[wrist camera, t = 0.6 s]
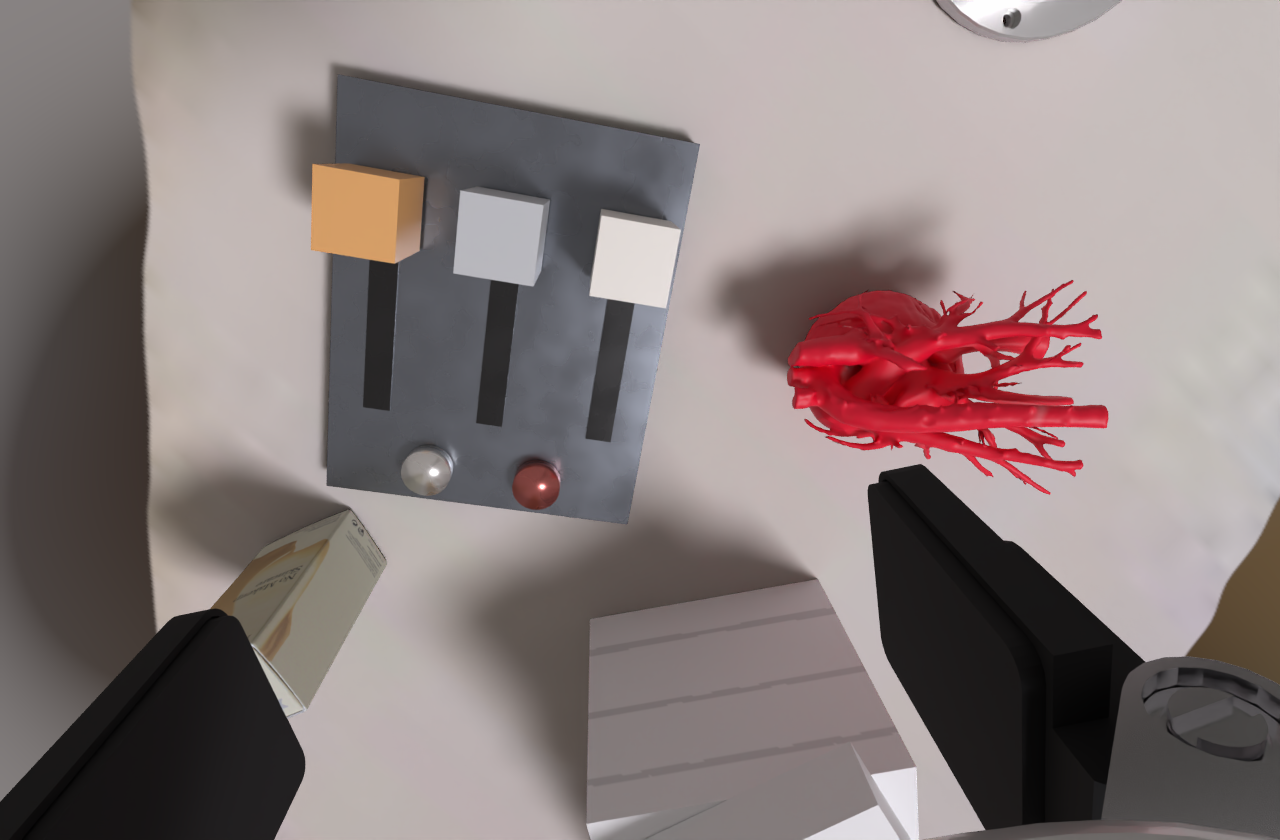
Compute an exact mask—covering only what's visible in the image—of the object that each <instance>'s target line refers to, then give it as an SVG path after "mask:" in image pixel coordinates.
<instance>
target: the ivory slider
mask: <svg viewBox="0 0 1280 840" xmlns="http://www.w3.org/2000/svg"><path fill="white" fill-rule="evenodd" d="M680 233H681V229H680V228H678V227H677V226H676V225H675V224H674V223H673V222H671V221H667V220H662V219H656V218H650V217H645V216H639V215H634V214H628V213H623V212H617V211H611V210H606V209H601V213H600V219H599V226H598V233H597V239H596V246H595V252H594V259H593V266H592V272H591V279H590V294H589V296H594V297H600V298H606V299H612V300H618V301H624V302H630V303H636V304H642V305H648V306H654V307H660V308H666V306H667V301H668V296H669V291H670V285H671V280H672V275H673V269H674V264H675V259H676V254H677V248H678V243H679V238H680Z"/></svg>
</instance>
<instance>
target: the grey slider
mask: <svg viewBox="0 0 1280 840" xmlns="http://www.w3.org/2000/svg"><path fill="white" fill-rule="evenodd" d="M549 205H550V199H544V198H539V197H533V196H528V195H522V194H517V193H511V192H505V191H500V190H494V189H489V188H483V187H478V186H477V187H473V188H469V189H464V190H460V200H459V212H458V223H457V235H456V247H455V259H454V270H453V273H454V274H460V275H466V276H472V277H478V278H484V279H491V280H497V281H503V282H509V283H515V284H521V285H527V286H534V284H535V282H536V280H537V278H538V276H539V274H540V273H541V268H542V260H543V252H544V244H545V237H546V229H547V221H548V213H549Z"/></svg>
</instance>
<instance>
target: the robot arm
mask: <svg viewBox="0 0 1280 840" xmlns="http://www.w3.org/2000/svg"><path fill="white" fill-rule="evenodd" d="M936 1H937V2H938V4H939V5H940V7H941V8H942V9H943V10H944V11H946V12H947V13H948V14H949V15H950V16H951V17H952V18H953V19H954V20H955V21H957V22H958V23H959V24H960V25H962V26H964V27H966V28H967V29H969V30H971V31H973V32H975V33H976V34H978V35H981V36H984V37H988V38H991V39H995V40H998V41H1002V42H1024V43H1026V42H1032V41H1038V40H1044V39H1049V38H1053V37H1056V36H1059V35H1062V34H1066V33H1069V32H1072V31H1074V30H1076V29H1078V28H1081V27H1083V26H1085V25H1087V24H1089V23H1091V22H1093V21H1095V20H1097V19H1098V18H1099V17H1101V16H1102V15H1103V14H1105V13H1106V12H1108V11H1109V10H1110V9H1112V8H1113V7H1114V6H1116V5H1117V4H1118V3H1120V2H1121V1H1122V0H936ZM1003 17H1005V19H1006V24H1005V26H1004V24H1003ZM868 503H869V513H870V524H871V535H872V546H873V556H874V567H875V578H876V589H877V599H878V610H879V621H880V631H881V639H882V644H883V648H884V651H885V654H886V656H887V659H888V661H889V663H890V665H891V666H892V668H893V670H894V672H895V673H896V675H897V677H898V679H899V680H900V682H901V684H902V686H903V687H904V689H905V691H906V693H907V694H908V696H909V698H910V699H911V701H912V703H913V705H914V706H915V708H916V710H917V712H918V713H919V715H920V717H921V719H922V720H923V722H924V724H925V726H926V727H927V729H928V731H929V732H930V734H931V736H932V738H933V739H934V741H935V743H936V745H937V746H938V748H939V750H940V752H941V753H942V755H943V757H944V759H945V760H946V762H947V764H948V766H949V767H950V769H951V771H952V772H953V774H954V776H955V778H956V779H957V781H958V783H959V785H960V786H961V788H962V790H963V792H964V793H965V795H966V797H967V799H968V800H969V802H970V804H971V805H972V807H973V809H974V811H975V812H976V814H977V816H978V818H979V819H980V821H981V823H982V825H983V826H984V828H985V830H984V831H976V832H968V833H960V834H954V835H948V836H942V837H936V838H930V839H924V840H1280V685H1278V684H1277V683H1275V682H1273V681H1271V680H1269V679H1267V678H1265V677H1263V676H1260V675H1258V674H1256V673H1254V672H1252V671H1250V670H1248V669H1244V668H1241V667H1238V666H1234V665H1231V664H1227V663H1224V662H1221V661H1217V660H1210V659H1203V658H1195V657H1165V658H1160V659H1157V660H1153V661H1149V662H1145V661H1144V660H1143V659H1142V658H1141V657H1139V656H1138V655H1137V654H1136V653H1135V652H1134V651H1133V650H1132V649H1131V648H1130V647H1129V646H1128V645H1126V644H1125V643H1124V642H1123V641H1122V640H1121V639H1120V638H1119V637H1118V636H1117V635H1116V634H1114V633H1113V632H1112V631H1111V630H1110V629H1109V628H1108V627H1107V626H1106V625H1105V624H1104V623H1103V622H1101V621H1100V620H1099V619H1098V618H1097V617H1096V616H1095V615H1094V614H1093V613H1092V612H1091V611H1090V610H1088V609H1087V608H1086V607H1085V606H1084V605H1083V604H1082V603H1081V602H1080V601H1079V600H1078V599H1077V598H1075V597H1074V596H1073V595H1072V594H1071V593H1070V592H1069V591H1068V590H1067V589H1066V588H1065V587H1064V586H1062V585H1061V584H1060V583H1059V582H1058V581H1057V580H1056V579H1055V578H1054V577H1053V576H1052V575H1050V574H1049V573H1048V572H1047V571H1046V570H1045V569H1044V568H1043V567H1042V566H1041V565H1040V564H1039V563H1037V562H1036V561H1035V560H1034V559H1033V558H1032V557H1031V556H1030V555H1029V554H1028V553H1027V552H1026V551H1024V550H1023V549H1022V548H1021V547H1020V546H1018V545H1017V544H1015V543H1014V542H1012V541H1003V540H1002V539H1001V538H1000V537H999V536H998V535H997V534H996V533H995V532H994V531H993V530H992V529H991V528H990V527H989V526H987V525H986V524H985V523H984V522H983V521H982V520H981V519H980V518H979V517H978V516H977V515H976V514H975V513H974V512H973V511H972V510H971V509H969V508H968V507H967V506H966V505H965V504H964V503H963V502H962V501H961V500H960V499H959V498H958V497H957V496H956V495H955V494H954V493H953V492H951V491H950V490H949V489H948V488H947V487H946V486H945V485H944V484H943V483H942V482H941V481H940V480H939V479H938V478H937V477H936V476H935V475H933V474H932V473H931V472H930V471H929V470H928V469H927V468H926V467H925V466H923V465H922V464H919V465H913V466H909V467H904V468H899V469H894V470H889V471H884V472H881V474H880V475H879V483H875V484H870V485H869V487H868ZM304 772H305V756H304V753H303V750H302V748H301V746H300V744H299V742H298V740H297V738H296V736H295V734H294V732H293V730H292V728H291V725H290V723H289V721H288V719H287V717H286V715H285V713H284V711H283V709H282V707H281V705H280V703H279V701H278V699H277V697H276V695H275V693H274V691H273V689H272V687H271V685H270V682H269V680H268V678H267V676H266V674H265V672H264V670H263V668H262V666H261V664H260V662H259V660H258V658H257V656H256V654H255V652H254V650H253V648H252V646H251V644H250V641H249V639H248V637H247V635H246V633H245V631H244V629H243V627H242V625H241V623H240V622H239V620H238V619H237V618H236V617H234V616H230V615H229V616H228V615H227V614H226V613H225V612H224V611H223V610H221V609H217V608H214V609H209V610H204V611H199V612H194V613H190V614H185V615H180V616H176V617H173V618H172V619H171V620H169V621H168V622H167V623H166V624H165V625H164V626H163V627H162V629H161V630H160V631H159V632H158V633H157V634H156V635H155V636H154V637H153V638H152V640H150V641H149V643H148V644H147V645H146V646H145V647H144V648H143V649H142V650H141V651H140V652H139V653H138V654H137V655H136V657H135V658H134V659H133V660H132V661H131V662H130V663H129V664H128V665H127V666H126V667H125V668H124V670H122V672H121V673H120V674H119V675H118V676H117V677H116V678H115V679H114V680H113V681H112V682H111V683H110V684H109V686H108V687H107V688H106V689H105V690H104V691H103V692H102V693H101V694H100V695H99V696H98V697H97V699H96V700H95V701H94V702H93V703H92V704H91V705H90V706H89V707H88V708H87V709H86V710H85V711H84V713H82V715H81V716H80V717H79V718H78V719H77V720H76V721H75V722H74V723H73V724H72V725H71V726H70V728H69V729H68V730H67V731H66V732H65V733H64V734H63V735H62V736H61V737H60V738H59V739H58V740H57V741H56V742H55V744H54V745H53V746H52V747H51V748H50V749H49V750H48V751H47V752H46V753H45V754H44V755H43V757H42V758H41V759H40V760H39V761H38V762H37V763H36V764H35V765H34V766H33V767H32V768H31V770H30V771H29V772H28V773H27V774H26V775H25V776H24V777H23V778H22V779H21V780H20V781H19V782H18V783H17V784H16V785H15V787H14V788H13V789H12V790H11V791H10V792H9V793H8V794H7V795H6V796H5V797H4V798H3V800H2V801H1V802H0V840H274V839H275V837H276V834H277V832H278V830H279V828H280V826H281V824H282V822H283V820H284V818H285V816H286V813H287V811H288V809H289V807H290V805H291V803H292V801H293V799H294V797H295V795H296V792H297V790H298V788H299V786H300V784H301V782H302V780H303V777H304Z"/></svg>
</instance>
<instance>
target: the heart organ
mask: <svg viewBox="0 0 1280 840" xmlns="http://www.w3.org/2000/svg"><path fill="white" fill-rule="evenodd" d="M1072 283H1073V280H1071V281H1069V282H1067V283H1066V284H1062V285H1061V286H1060V287H1058V288H1057V289H1055V290H1054V289H1052V292H1051V293H1049V294H1047V295H1045V296H1044V297H1042V298H1040V299H1039V300H1037V301H1035V302H1033V303H1032V304H1030V305H1029V306H1027V307H1024V299H1025V295H1026V291H1025V292H1024V293H1023V296H1022V299H1021V301H1020V309H1019V311H1018V312H1016V313H1015V314H1014V315H1013V316H1011V317H1010V318H1008V319H1005V320H1002V321H995V322H990V323H985V324H978V325H973V326H965V327H957V325H958V324H959V322H961V321H962V320H963V319H964V318H966V317H968V316H970V315H971V314H973V313H974V312H975V311H976V309H978V308H979V307H980V306H981V305H982V304H983V302H980V303H979V305H978V307H977V308H976V309H975V310H974V311H973V312H972V313H964V312H965V311H966V310H967V309H968V308H969V307H970V304H971V303H972V301H974V300H975V299H970V298H967V297H964V296H963V295H961V294H958V293H956V292H955V291H953V292H954V293H956V294H957V295H958V296H959V297H960V299H961V301H960V302H957V303H955V305H953V306H951V307H950V308H948V309H947V311H946V310H945V306H944V303H943V301H942V300H941V302H940V305H941V307H942V309H943V313H944V315H943V316H942V317H941V315H940V314H939V313H938V312H937V311H936V310H935V309H933V308H929V307H928V306H927V305H926V304H923V303H922V302H921V301H918V300H917V299H916V298H913V297H911V296H909V295H906V294H902V293H898V292H893V291H891V290H888V291H871V292H868V293H865V292H864V293H862V294H860V295H856V296H852V297H850V298H848V299H846V300H845V301H844V302H841V303H840V304H839V305H838V306H837V307H836V308H834V309H833V310H832V311H830V312H829V313H826V314H818V315H816V316H814V317H810V318H809V320H812V319H815V318H818V317H820V318H819V319H818V320H817V321H816V322H815V323H814V324H813V325H812V327H811V329H810V330H809V332H808V334H807V336H806V339H805V341H803V342H798V343H797V344H796V346H795V348H794V349H793V351H792V352H791V354H790V356H789V357H788V365H790V368H789V370H788V373H787V381H788V385H789V386H793V387H795V395H794V397H793V400H792V405H793V408H794V409H803V408H808V407H809V408H810V409H811V411H812V413H813V414H814V416H815V417H816V419H817V420H818V421H819V422H821V423H822V424H823V425H824V426H826V427H828V428H830V430H824V429H822V428H819V427H816V426H815V425H813V424H812V423H811V422H810V421H808V420H807V419H804V420H805V422H806V423H807V424H808V425H809V426H810V427H812V428H814V429H816V430H818V431H819V432H823V433H826V434H828V435H830V436H831V435H835V436H841V437H850V436H857V438H864V437H872V438H873V443H868V444H859V443H849V442H845V441H842V440H838V439H836V438H833V437H830V436H827V437H826V438H828V439H831V440H832V441H833V442H834V441H835V442H836V443H838V442H839V443H840V444H842V445H847V446H849V447H852V448H859V449H861V450H872V449H879V448H883V447H886V446H889V445H891V450H892V448H893V445H894V446H896V447H897V448H902V447H903V446H902V445H900V444H899V442H901V441H907V442H910V443H916V444H915V445H914V446H917V447H920V448H923V449H924V451H923V452H924V456H925V457H926V458H927V459H930V458H931V456H930V455H929V452H930V451H929V448H930V447H935V448H939V449H942V450H944V451H948V452H954V453H959V454H962V455H964V456H965V457H966V458H967V459H968V460H969V461H971V462H972V463H973V464H974V465H975V467H977V468H978V469H979V470H980V471H981V472H983V473H984V474H985V475H986V476H992V477H993V475H992V473H991V472H990V471H988V470H987V469H985V468H984V467H983V466H982V465H981V464H980V463H979V462H978V461H977V459H976V458H975V457H980V458H984V459H988V460H991V461H993V462H995V463H997V464H1000V465H1001V466H1003V467H1005V468H1006V469H1008V470H1009V471H1010V472H1011V473H1012V474H1013V475H1014V476H1015V477H1016V478H1019V479H1020V480H1021V479H1022V480H1023V482H1024V484H1025V485H1026V483H1025V482H1027V483H1028V484H1030V485H1032V486H1033V487H1035V488H1036V489H1038V490H1039V491H1041V492H1043V493H1046V494H1049V495H1050V492H1049V491H1047V490H1046V489H1044V488H1043V487H1042V486H1040V485H1038V484H1036V483H1035V482H1034V481H1032V480H1031V479H1030V478H1029V477H1028V476H1027V475H1025V474H1023V473H1022V472H1020V471H1019V470H1018V469H1017V468H1015V467H1014V466H1013V465H1011V464H1010V463H1008V462H1007V461H1005V460H1008V461H1014V462H1020V463H1026V464H1032V465H1037V466H1043V467H1048V468H1052V469H1056V470H1059V471H1065V472H1068V473H1070V474H1071V475H1072V476H1074V477H1075V476H1076V473H1075V471H1074V470H1076V469H1081V468H1082V467H1083V463H1082V460H1077V461H1055V460H1053V459H1052V458H1051V457H1050V456H1049V455H1048V453H1047V452H1046V451H1045V449H1044V448H1043V444H1052V445H1056V446H1060V447H1064V446H1065V442H1064V441H1063V440H1058V438H1057V437H1056V436H1054V435H1053V434H1050V433H1048V432H1046V431H1045V430H1040V429H1039V428H1037V427H1087V428H1107V422H1108V411H1107V408H1106V407H1105V406H1103V405H1087V406H1072V405H1071V404H1074V402H1073V399H1072V398H1069V397H1062V396H1039V395H1025V394H1018V393H1012V392H1006V391H1001V390H997V389H998V387H1006V386H1008V385H1011V386H1014V385H1016V384H1020V383H1015V382H1012V383H1001V384H998V381H999V380H1001V379H1003V378H1007V377H1009V376H1012V375H1015V374H1019V373H1020V372H1023V371H1030V370H1034V369H1038V368H1047V367H1063V368H1065V367H1082V366H1083V363H1082V362H1076V361H1064V360H1062V359H1061V356H1063V355H1065V354H1067V353H1069V352H1070V351H1072V350H1074V349H1076V348H1077V347H1080V346H1081V343H1079V344H1077V345H1075V346H1073V347H1072V348H1070V347H1071V345H1067V346H1066V347H1065V348H1064V349H1063V351H1062V352H1060V353H1059V354H1057V355H1055V356H1054V357H1049V358H1043V357H1044V355H1045V353H1046V351H1047V350H1048V347H1049V341H1050V337H1056V338H1060V339H1065V338H1066V337H1068V336H1073V337H1092V338H1096V339H1101V338H1102V335H1101V330H1100V329H1091V328H1090V327H1089V323H1091V322H1093V321H1094V320H1096V319H1097V317H1098V315H1097V314H1096V315H1093V316H1092V317H1090V318H1089V319H1088V320H1086V321H1084V322H1082V323H1079V324H1071V325H1052V324H1053V323H1054V322H1055V321H1057V320H1058V319H1059V318H1061V317H1062V316H1063V315H1064V314H1066V312H1067V311H1068V310H1070V309H1071V308H1072V306H1074V305H1075V304H1076V303H1077V302H1078V301H1080V300H1081V299H1082V298H1083V297H1084V296H1085V295H1086V294H1087V291H1085V292H1083V293H1082V294H1081V295H1080V296H1078V297H1077V298H1076V299H1075V300H1074V301H1073V302H1072V303H1071V304H1070V305H1069V306H1068V308H1066V309H1065V310H1064V311H1063V312H1061V313H1060V314H1059V315H1058V316H1057V317H1055V318H1054V319H1053V320H1051V321H1050V322H1047V318H1048V310H1049V308H1050V306H1051V305H1052V304H1053V303H1052V301H1051V298H1052V297H1053V296H1054V295H1055V294H1056V293H1057V292H1058V291H1060V290H1061V289H1062V288H1064V287H1066V286H1068V285H1070V284H1072ZM867 291H868V290H867ZM867 291H866V292H867ZM972 296H973V295H972ZM971 298H972V297H971ZM1046 300H1047V304H1046V305H1045V306H1044V307H1043V308H1041V310H1042V318H1041V320H1040V321H1039V324H1037V323H1025V322H1024V323H1020V322H1018V321H1019V320H1020V319H1021V318H1022V317H1024V315H1025V314H1026V313H1027V312H1029V311H1030V310H1031V309H1033V308H1034V307H1036V306H1038V305H1040V304H1041V303H1042V302H1044V301H1046ZM948 311H949V312H950V313H949V315H947V312H948ZM977 351H980V352H981V353H982V354H983V355H984V356H986V357H988V358H989V360H990V362H991V367H992V369H990V370H988V371H985V372H981V373H976V374H964V368H963V363H962V354H966V353H971V352H977ZM997 351H1007V352H1013V353H1017V354H1020V355H1019V356H1018V357H1016V358H1013V357H1011V356H1006V355H1003V354H1001V353H999V352H997ZM1042 358H1043V359H1042ZM1003 359H1004V360H1010V361H1008V362H1006V363H1004V364H1002V365H1000V361H999V360H1003ZM793 366H799V367H800V368H793ZM993 387H994V388H993ZM968 398H973V399H974V398H975V399H977V400H981V401H987V402H994V403H982V402H975V403H974V402H972V401H971V400H969V399H968ZM1060 405H1070V406H1060ZM1025 427H1029V428H1034V429H1037V430H1039V431H1042V432H1043V433H1047V434H1048V435H1051V436H1052V437H1054V438H1051V437H1047V436H1043V435H1040V434H1038V433H1036V432H1034V431H1032V430H1030V429H1028V428H1025ZM988 428H1006V429H1008V430H1010V431H1013V432H1015V433H1017V434H1019V435H1021V436H1023V437H1024V438H1025V439H1027V440H1028V441H1029V442H1031V443H1032V444H1034V445H1035V447H1036V448H1037V449H1038V451H1039V452H1040V453H1041V455H1042V456H1044V457H1045V458H1044V457H1040V456H1037V455H1032V454H1029V453H1022V452H1019V451H1018V450H1017V449H1016V448H1014V449H1001V448H997V444H996V443H995V437H994V435H993V434H992V433H991V431H990V430H989V429H988ZM975 429H977V430H978V436H979V441H980V442H981V440H982V443H983V444H980V443H976V442H973V441H969V440H966V439H964V438H962V437H957V436H954V435H950V434H947V433H943V432H955V431H967V430H975ZM980 436H981V438H980ZM984 437H985V439H986V441H987V442H988V444H989V446H987V445H985V443H984ZM1055 438H1056V439H1055Z"/></svg>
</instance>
